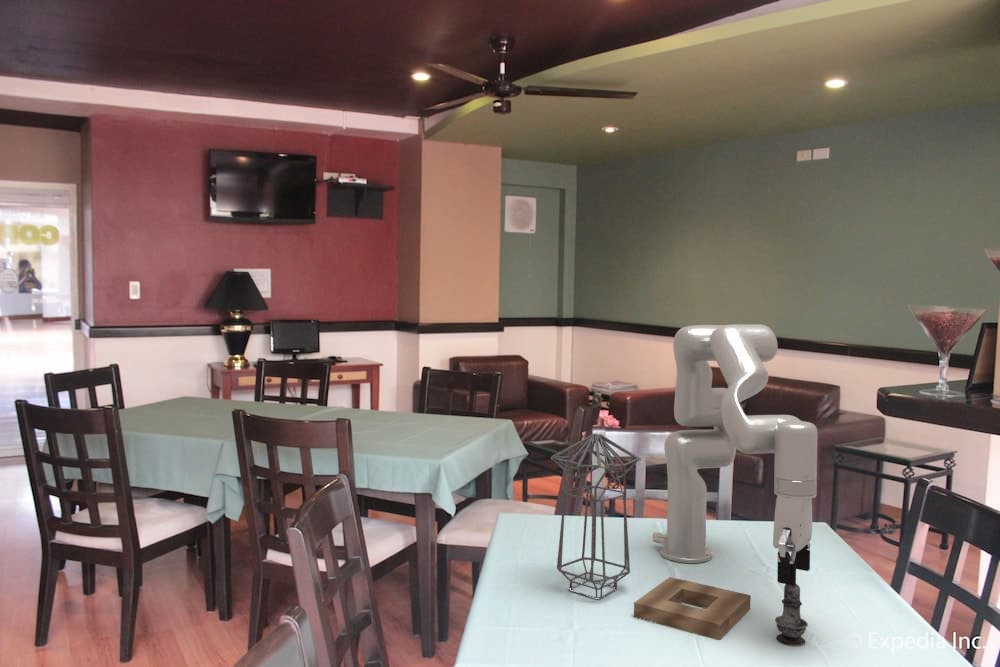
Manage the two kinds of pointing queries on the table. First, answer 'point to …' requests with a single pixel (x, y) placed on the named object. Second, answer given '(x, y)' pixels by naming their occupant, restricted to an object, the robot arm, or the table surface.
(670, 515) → the robot arm
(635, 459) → the geometric lantern
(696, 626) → the stand
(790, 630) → the salt shaker
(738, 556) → the table surface
